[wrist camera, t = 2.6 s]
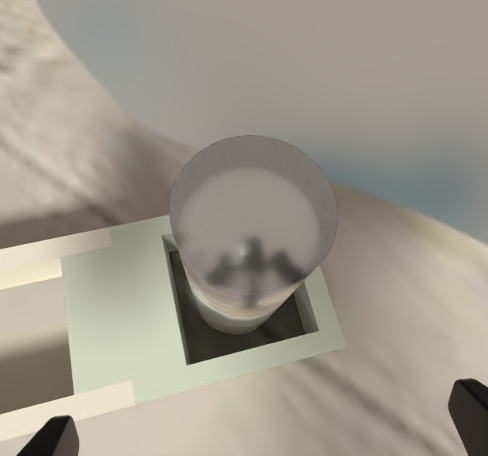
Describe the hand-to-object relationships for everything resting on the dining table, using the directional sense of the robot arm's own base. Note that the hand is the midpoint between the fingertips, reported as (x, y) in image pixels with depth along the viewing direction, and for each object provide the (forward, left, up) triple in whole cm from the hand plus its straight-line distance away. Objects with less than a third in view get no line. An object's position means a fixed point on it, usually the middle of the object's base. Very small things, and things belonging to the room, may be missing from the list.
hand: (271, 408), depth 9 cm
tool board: (-3, +6, -11) cm, 13 cm away
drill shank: (+2, +4, -11) cm, 12 cm away
